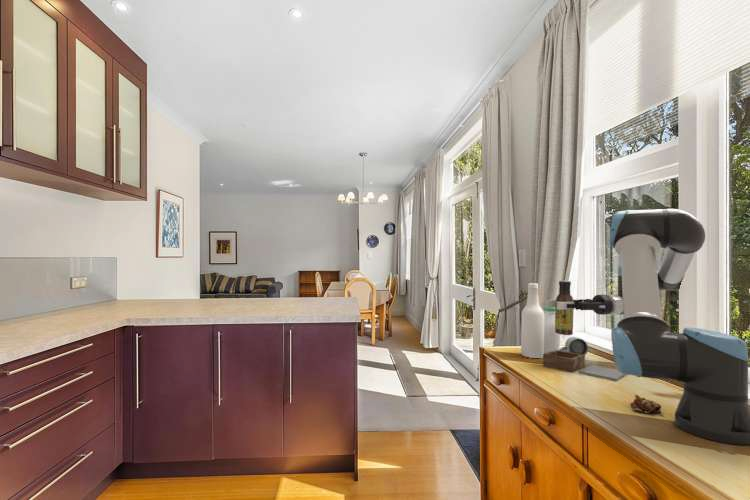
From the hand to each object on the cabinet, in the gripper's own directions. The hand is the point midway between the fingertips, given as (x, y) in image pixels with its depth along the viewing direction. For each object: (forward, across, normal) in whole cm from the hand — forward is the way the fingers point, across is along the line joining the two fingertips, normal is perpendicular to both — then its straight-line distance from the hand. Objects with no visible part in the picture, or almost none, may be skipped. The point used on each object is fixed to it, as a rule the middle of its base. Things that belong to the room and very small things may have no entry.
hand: (552, 304), depth 150 cm
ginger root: (-1, -40, -24) cm, 47 cm away
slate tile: (-13, -10, -23) cm, 28 cm away
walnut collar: (-5, 0, -23) cm, 24 cm away
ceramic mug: (-21, +17, -23) cm, 35 cm away
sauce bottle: (-5, 0, -11) cm, 12 cm away
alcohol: (-2, +16, -23) cm, 28 cm away
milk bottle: (-11, +18, -23) cm, 32 cm away
